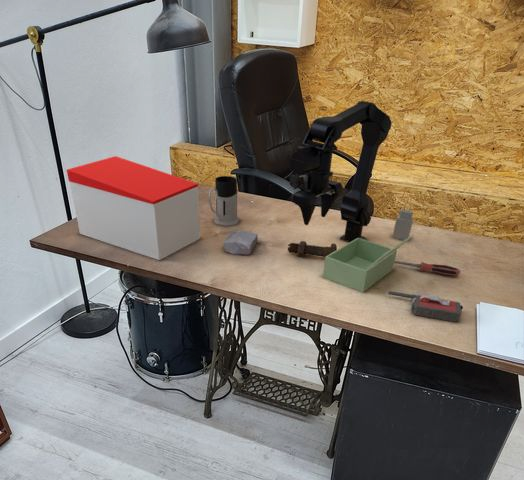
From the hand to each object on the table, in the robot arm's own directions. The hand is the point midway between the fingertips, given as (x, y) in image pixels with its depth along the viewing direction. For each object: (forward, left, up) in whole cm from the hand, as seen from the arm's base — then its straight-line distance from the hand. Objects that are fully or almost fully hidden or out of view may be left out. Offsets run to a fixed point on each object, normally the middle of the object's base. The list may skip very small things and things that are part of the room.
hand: (314, 220), depth 144 cm
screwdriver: (-15, +30, -12) cm, 35 cm away
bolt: (0, 0, -12) cm, 12 cm away
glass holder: (-1, -39, -12) cm, 41 cm away
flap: (-1, +26, -2) cm, 26 cm away
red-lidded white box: (+27, -51, -12) cm, 59 cm away
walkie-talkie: (+6, +41, -12) cm, 43 cm away
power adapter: (-35, +15, -12) cm, 40 cm away
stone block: (+10, -21, -12) cm, 27 cm away
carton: (-1, +17, -12) cm, 21 cm away
